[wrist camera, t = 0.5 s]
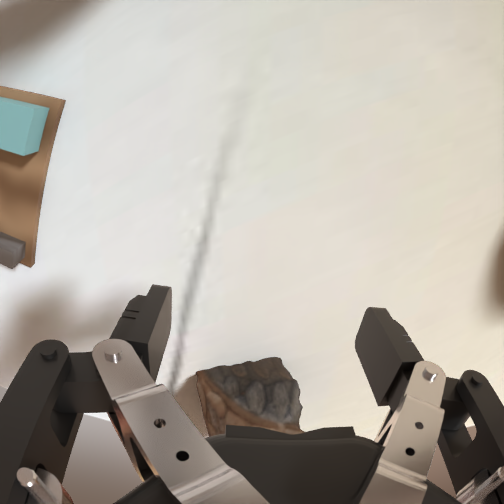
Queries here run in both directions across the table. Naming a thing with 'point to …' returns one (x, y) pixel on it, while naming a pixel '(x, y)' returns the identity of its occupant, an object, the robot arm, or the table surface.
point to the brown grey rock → (250, 397)
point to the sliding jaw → (21, 126)
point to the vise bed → (25, 185)
